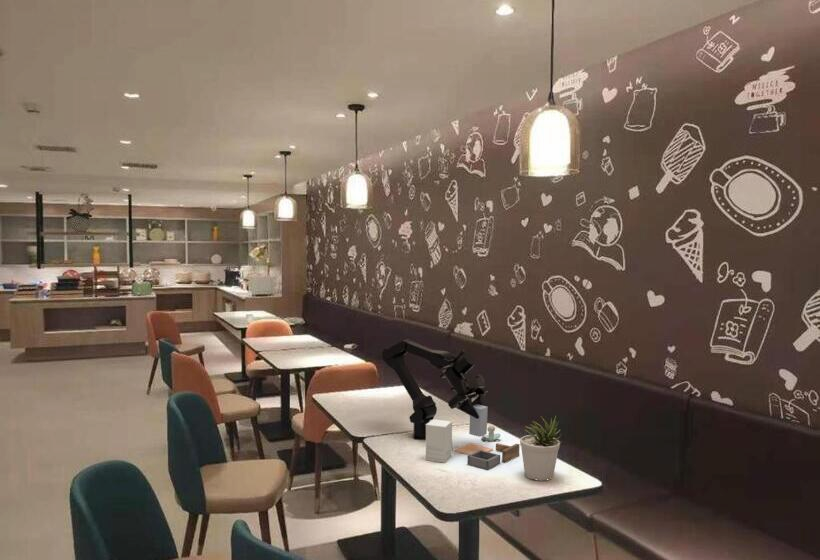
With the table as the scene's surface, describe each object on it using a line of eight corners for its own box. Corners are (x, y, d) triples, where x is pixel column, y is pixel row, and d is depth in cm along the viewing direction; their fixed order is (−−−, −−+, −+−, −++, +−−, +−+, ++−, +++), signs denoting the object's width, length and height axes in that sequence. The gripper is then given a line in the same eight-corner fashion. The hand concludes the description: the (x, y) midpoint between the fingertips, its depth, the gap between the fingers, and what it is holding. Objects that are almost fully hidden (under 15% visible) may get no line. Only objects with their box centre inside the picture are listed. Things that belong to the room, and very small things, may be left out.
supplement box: (452, 456, 207) (453, 421, 206) (444, 463, 200) (445, 426, 199) (433, 453, 210) (433, 418, 209) (424, 460, 203) (425, 423, 202)
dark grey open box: (467, 464, 199) (467, 455, 199) (480, 458, 205) (480, 449, 205) (487, 470, 194) (487, 461, 194) (500, 463, 200) (500, 454, 200)
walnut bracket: (482, 456, 207) (482, 445, 206) (497, 449, 214) (497, 438, 214) (505, 462, 201) (505, 451, 201) (519, 455, 209) (519, 444, 209)
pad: (454, 451, 212) (454, 449, 212) (469, 444, 220) (469, 442, 220) (478, 457, 206) (478, 456, 206) (492, 450, 214) (492, 448, 214)
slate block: (469, 434, 212) (470, 406, 211) (476, 431, 215) (477, 404, 214) (479, 436, 209) (481, 409, 208) (486, 434, 212) (487, 406, 212)
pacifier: (478, 438, 228) (484, 443, 222) (478, 422, 228) (484, 426, 222) (495, 437, 230) (502, 441, 224) (495, 421, 230) (502, 425, 224)
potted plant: (536, 487, 180) (538, 423, 179) (511, 472, 193) (512, 411, 192) (569, 481, 185) (571, 419, 184) (543, 466, 198) (544, 408, 197)
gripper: (456, 372, 206) (482, 409, 199) (484, 364, 220) (509, 399, 214) (437, 390, 211) (461, 427, 205) (466, 381, 226) (490, 416, 219)
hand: (481, 416), depth 211 cm, fingers closed on slate block, 4 cm apart
